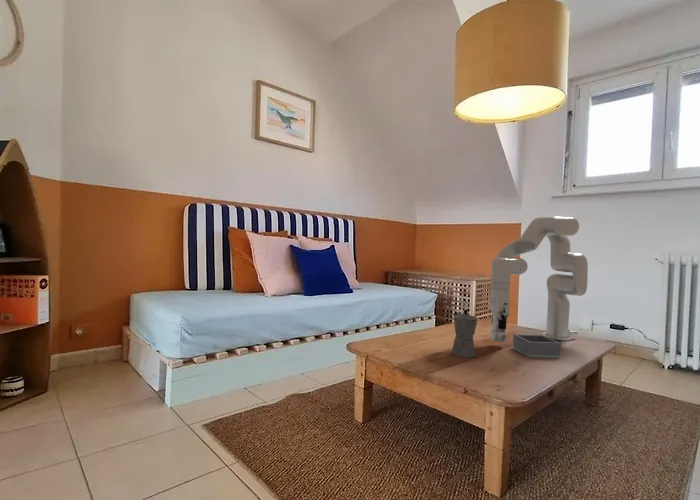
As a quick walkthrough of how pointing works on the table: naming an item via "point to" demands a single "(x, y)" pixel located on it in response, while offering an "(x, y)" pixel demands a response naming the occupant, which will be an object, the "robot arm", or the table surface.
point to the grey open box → (536, 346)
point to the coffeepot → (464, 335)
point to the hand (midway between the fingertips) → (498, 326)
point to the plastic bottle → (497, 333)
